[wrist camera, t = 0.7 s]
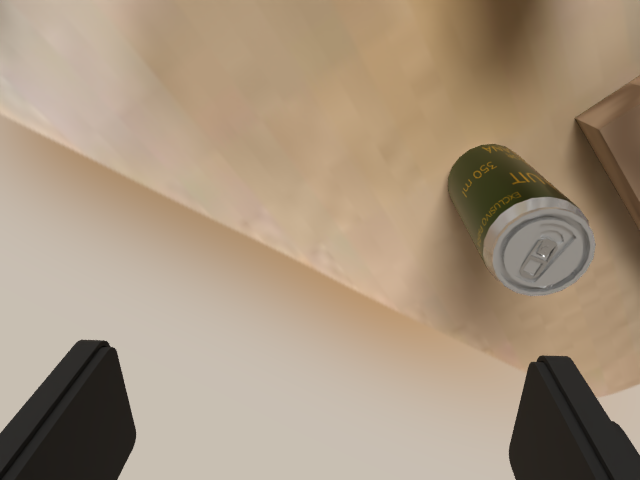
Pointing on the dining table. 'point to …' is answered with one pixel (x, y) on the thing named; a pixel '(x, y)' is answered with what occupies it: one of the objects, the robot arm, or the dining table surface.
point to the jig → (618, 141)
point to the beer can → (520, 221)
